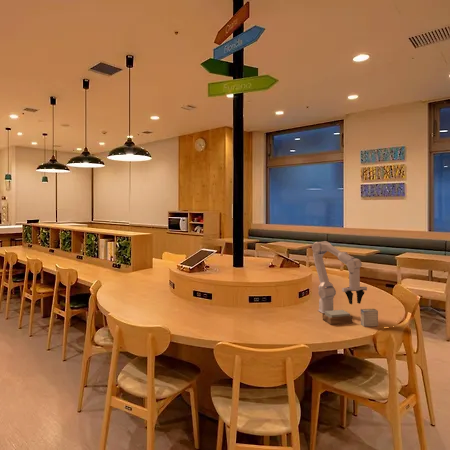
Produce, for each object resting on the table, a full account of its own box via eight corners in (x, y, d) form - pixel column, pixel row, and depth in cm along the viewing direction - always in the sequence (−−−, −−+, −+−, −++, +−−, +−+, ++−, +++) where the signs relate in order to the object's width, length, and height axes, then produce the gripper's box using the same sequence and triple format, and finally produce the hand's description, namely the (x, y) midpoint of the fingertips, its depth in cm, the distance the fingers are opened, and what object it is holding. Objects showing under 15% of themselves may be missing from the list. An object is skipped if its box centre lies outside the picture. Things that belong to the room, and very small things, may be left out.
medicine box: (374, 323, 197) (374, 308, 197) (378, 326, 193) (378, 310, 192) (360, 324, 197) (360, 308, 196) (363, 327, 192) (363, 311, 192)
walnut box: (322, 319, 207) (322, 312, 207) (343, 318, 209) (343, 311, 209) (330, 325, 197) (330, 317, 197) (352, 323, 199) (352, 315, 199)
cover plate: (324, 314, 206) (324, 311, 206) (342, 313, 208) (342, 309, 208) (331, 318, 198) (331, 315, 198) (350, 317, 200) (349, 313, 200)
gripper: (346, 282, 199) (346, 306, 200) (370, 280, 202) (370, 304, 202) (340, 279, 206) (340, 303, 206) (363, 278, 209) (363, 301, 209)
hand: (354, 303), depth 205 cm, fingers open, 4 cm apart
